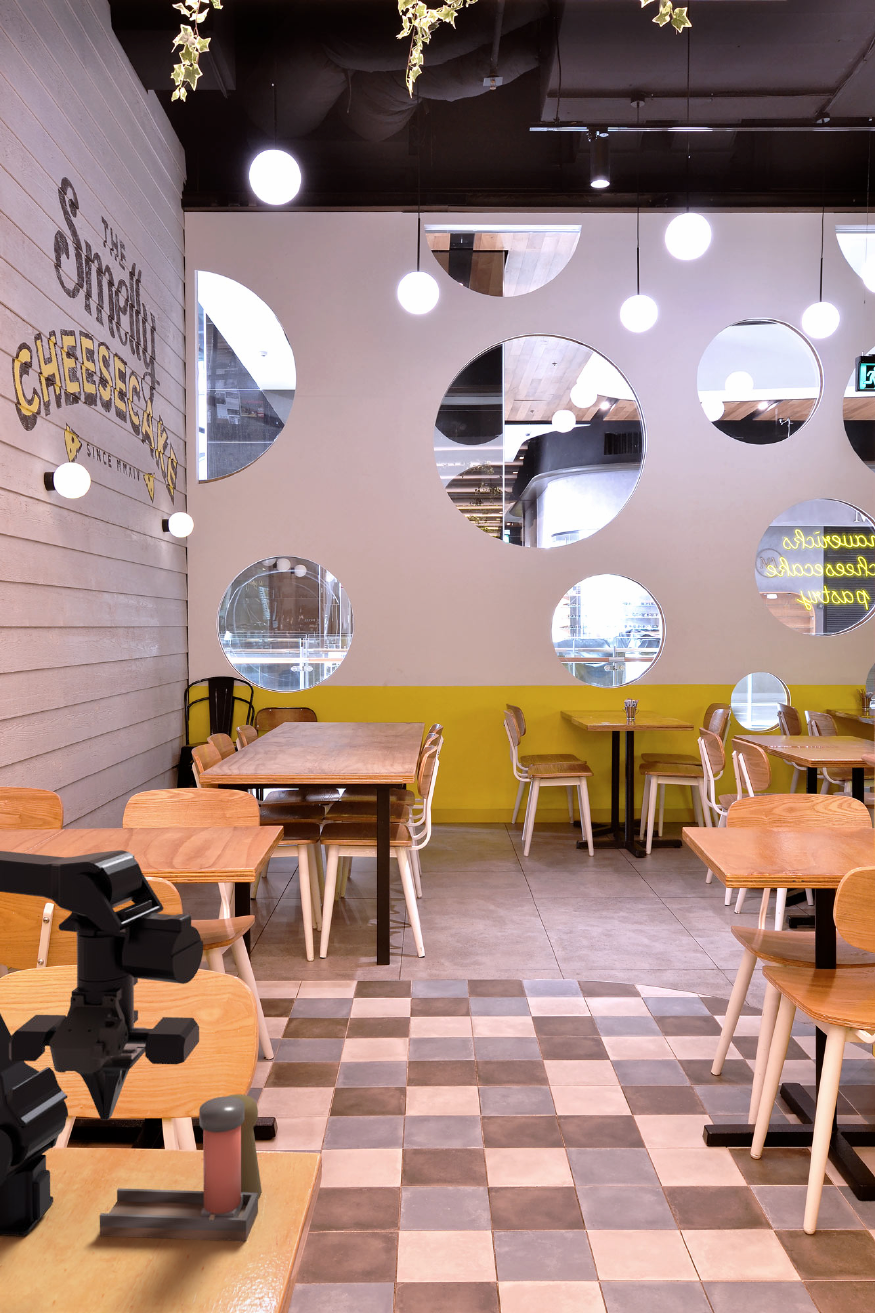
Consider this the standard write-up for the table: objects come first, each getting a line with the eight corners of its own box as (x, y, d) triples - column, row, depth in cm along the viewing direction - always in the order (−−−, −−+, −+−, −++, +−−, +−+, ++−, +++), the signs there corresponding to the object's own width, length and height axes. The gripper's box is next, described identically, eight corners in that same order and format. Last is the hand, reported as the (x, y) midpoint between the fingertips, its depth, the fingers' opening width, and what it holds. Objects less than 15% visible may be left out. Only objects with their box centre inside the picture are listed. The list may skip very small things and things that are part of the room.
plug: (193, 1226, 99) (193, 1117, 99) (207, 1199, 104) (207, 1096, 104) (238, 1228, 99) (237, 1119, 98) (249, 1201, 103) (249, 1097, 103)
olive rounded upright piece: (249, 1213, 103) (249, 1115, 103) (199, 1206, 105) (198, 1110, 104) (269, 1182, 109) (269, 1090, 109) (222, 1176, 110) (221, 1085, 110)
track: (99, 1236, 99) (99, 1214, 99) (118, 1207, 104) (118, 1186, 104) (245, 1241, 98) (245, 1219, 98) (258, 1212, 104) (258, 1190, 103)
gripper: (-21, 999, 91) (-20, 1157, 91) (164, 1003, 90) (165, 1162, 90) (34, 961, 102) (35, 1102, 102) (200, 964, 101) (201, 1106, 101)
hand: (106, 1118), depth 99 cm, fingers closed
